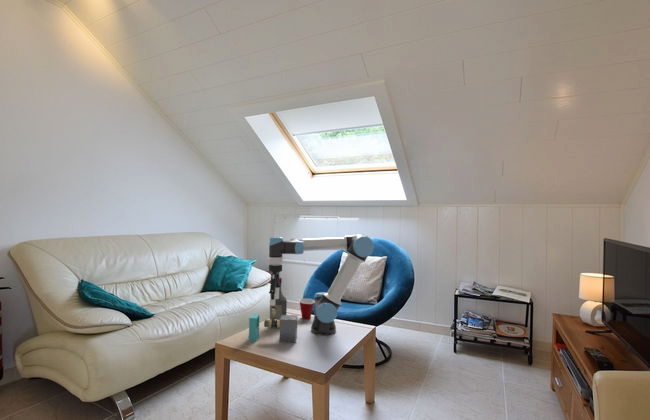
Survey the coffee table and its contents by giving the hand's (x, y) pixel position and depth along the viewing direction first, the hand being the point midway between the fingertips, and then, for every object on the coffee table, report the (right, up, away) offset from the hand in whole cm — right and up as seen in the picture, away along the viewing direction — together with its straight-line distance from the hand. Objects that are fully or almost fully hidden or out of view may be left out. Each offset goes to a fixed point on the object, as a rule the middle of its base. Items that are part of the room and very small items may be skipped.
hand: (274, 301), depth 194 cm
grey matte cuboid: (+8, -21, 0) cm, 23 cm away
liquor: (-1, -21, +23) cm, 31 cm away
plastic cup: (+16, -22, +40) cm, 48 cm away
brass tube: (+3, -14, 0) cm, 15 cm away
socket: (-12, -21, 0) cm, 24 cm away
